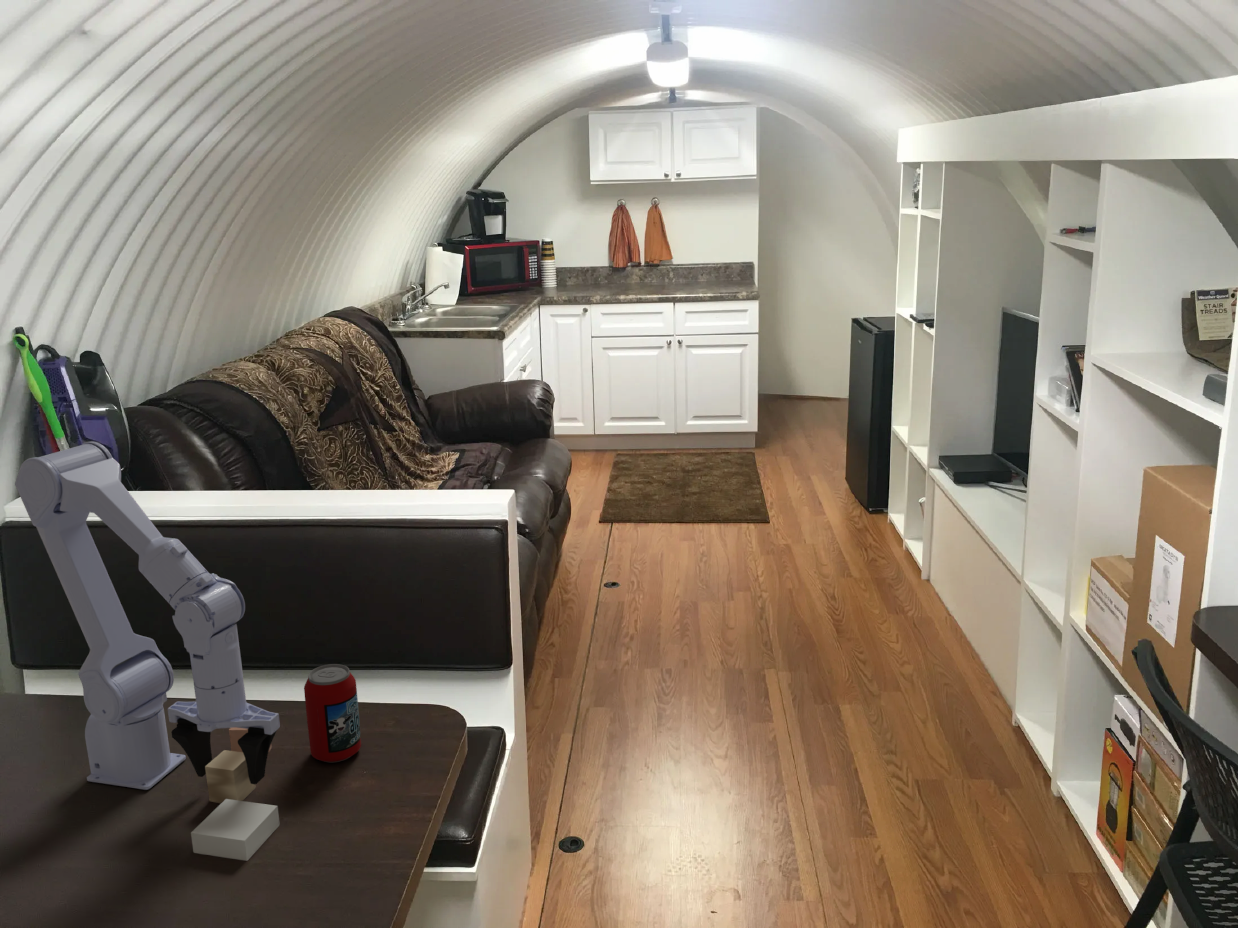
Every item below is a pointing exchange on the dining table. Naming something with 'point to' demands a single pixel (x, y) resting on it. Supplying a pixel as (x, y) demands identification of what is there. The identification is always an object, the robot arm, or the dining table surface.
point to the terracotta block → (236, 735)
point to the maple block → (228, 777)
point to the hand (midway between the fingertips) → (231, 776)
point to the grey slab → (235, 829)
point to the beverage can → (332, 713)
